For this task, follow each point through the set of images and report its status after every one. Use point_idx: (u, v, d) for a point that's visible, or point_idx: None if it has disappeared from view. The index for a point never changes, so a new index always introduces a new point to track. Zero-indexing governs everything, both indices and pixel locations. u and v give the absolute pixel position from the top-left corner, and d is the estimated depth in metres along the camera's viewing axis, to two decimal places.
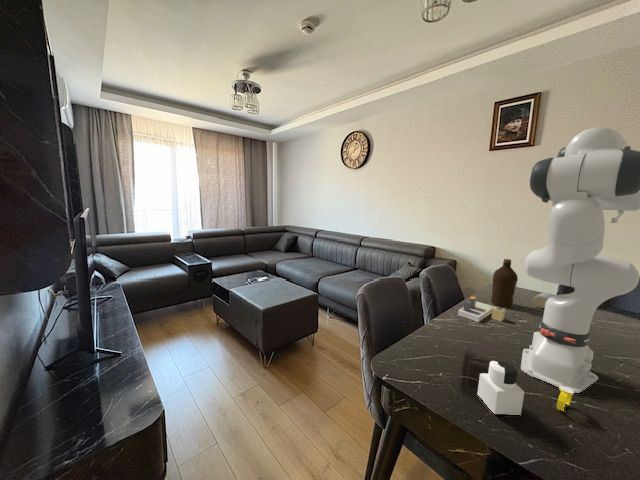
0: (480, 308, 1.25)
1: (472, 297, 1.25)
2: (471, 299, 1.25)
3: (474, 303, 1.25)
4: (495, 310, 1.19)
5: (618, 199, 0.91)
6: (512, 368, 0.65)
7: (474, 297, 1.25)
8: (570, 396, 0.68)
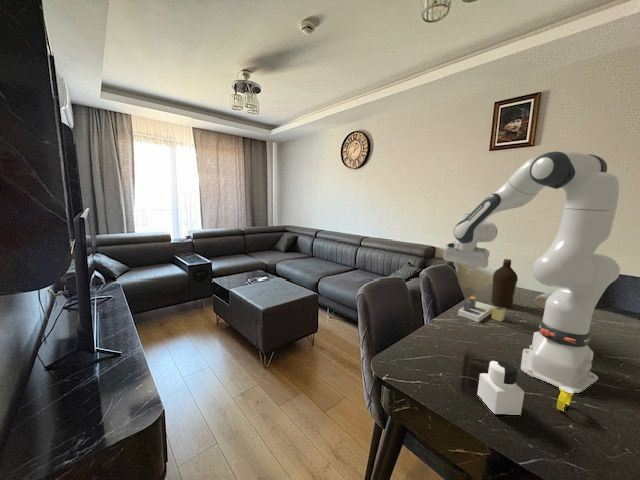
0: (480, 308, 1.25)
1: (472, 297, 1.25)
2: (471, 299, 1.25)
3: (474, 303, 1.25)
4: (495, 310, 1.19)
5: None
6: (512, 368, 0.65)
7: (474, 297, 1.25)
8: (570, 396, 0.68)
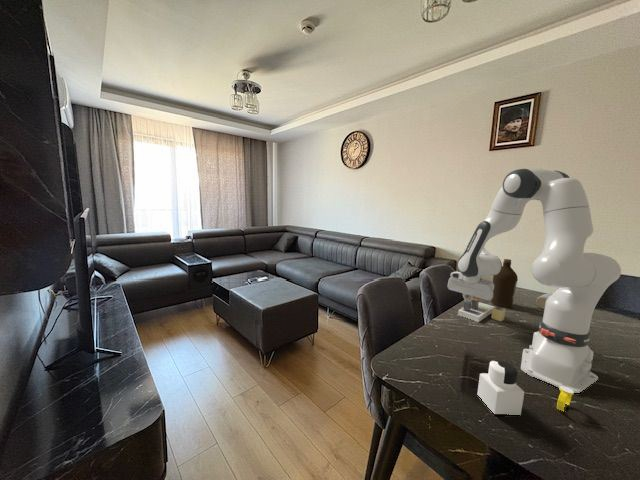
0: (480, 308, 1.25)
1: (475, 298, 1.24)
2: (474, 300, 1.24)
3: (477, 304, 1.24)
4: (495, 310, 1.19)
5: None
6: (512, 368, 0.65)
7: (477, 298, 1.24)
8: (570, 396, 0.68)
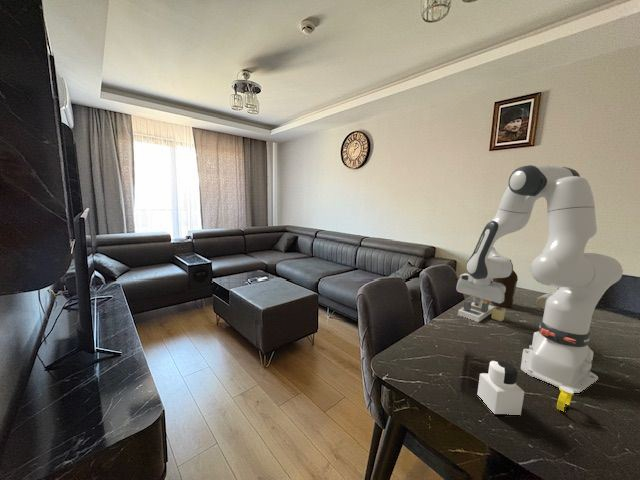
0: (480, 308, 1.25)
1: (485, 301, 1.21)
2: (484, 303, 1.21)
3: (487, 307, 1.21)
4: (495, 310, 1.19)
5: None
6: (512, 368, 0.65)
7: (487, 301, 1.21)
8: (570, 396, 0.68)
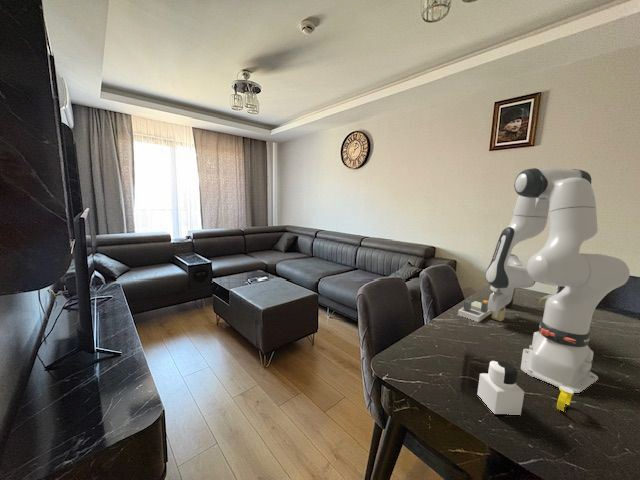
0: (480, 308, 1.25)
1: (485, 301, 1.21)
2: (484, 303, 1.21)
3: (487, 307, 1.21)
4: None
5: (508, 297, 1.20)
6: (512, 368, 0.65)
7: (487, 301, 1.21)
8: (570, 396, 0.68)
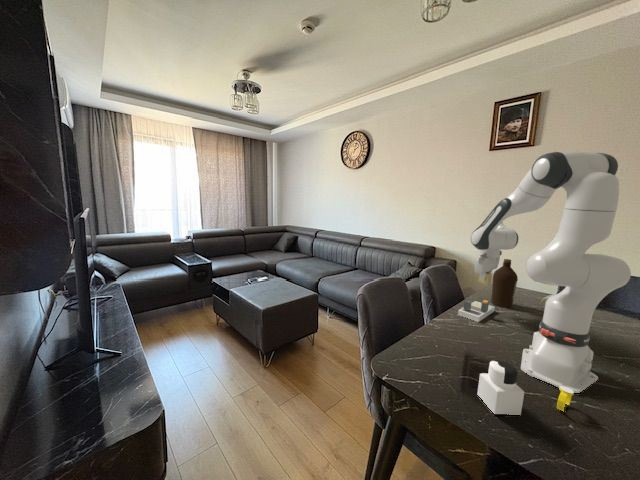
0: (480, 308, 1.25)
1: (485, 301, 1.21)
2: (484, 303, 1.21)
3: (487, 307, 1.21)
4: None
5: (494, 262, 1.27)
6: (512, 368, 0.65)
7: (487, 301, 1.21)
8: (570, 396, 0.68)
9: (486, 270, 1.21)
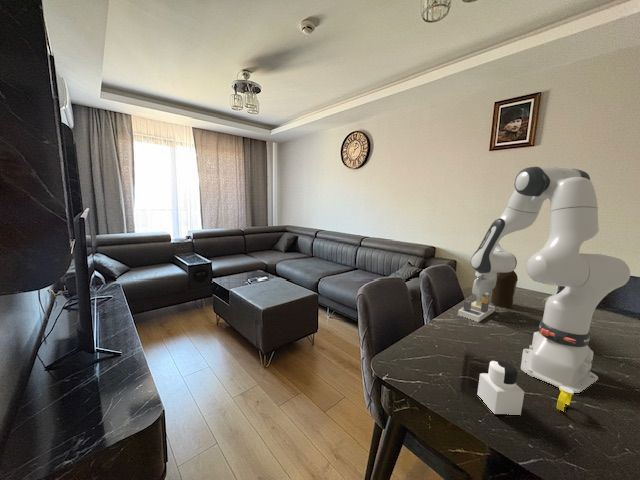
0: (480, 308, 1.25)
1: (485, 301, 1.21)
2: (484, 303, 1.21)
3: (487, 307, 1.21)
4: None
5: (492, 283, 1.29)
6: (512, 368, 0.65)
7: (487, 301, 1.21)
8: (570, 396, 0.68)
9: (483, 291, 1.23)
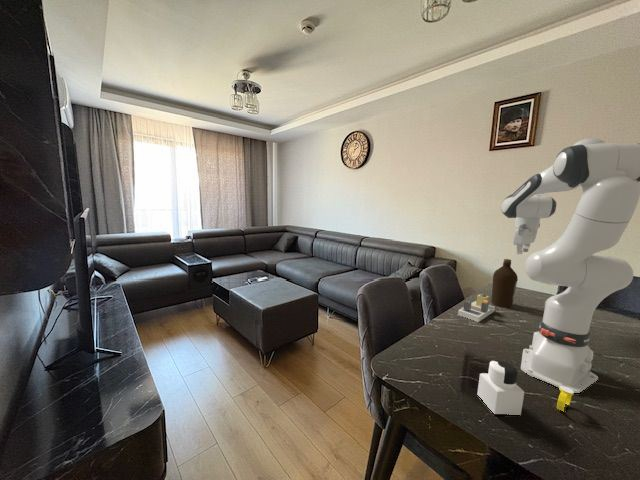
0: (480, 308, 1.25)
1: (485, 301, 1.21)
2: (484, 303, 1.21)
3: (487, 307, 1.21)
4: (479, 297, 1.28)
5: (532, 235, 1.21)
6: (512, 368, 0.65)
7: (487, 301, 1.21)
8: (570, 396, 0.68)
9: (525, 242, 1.15)
